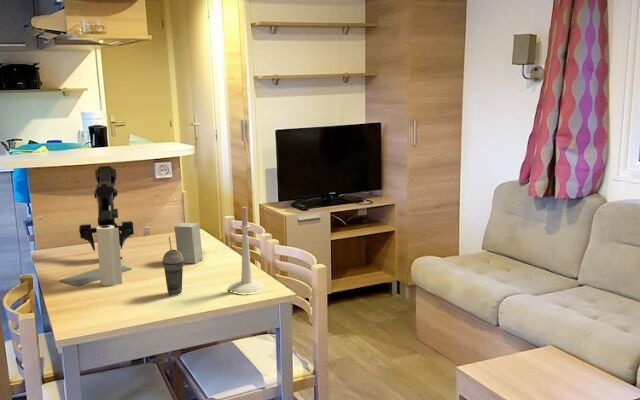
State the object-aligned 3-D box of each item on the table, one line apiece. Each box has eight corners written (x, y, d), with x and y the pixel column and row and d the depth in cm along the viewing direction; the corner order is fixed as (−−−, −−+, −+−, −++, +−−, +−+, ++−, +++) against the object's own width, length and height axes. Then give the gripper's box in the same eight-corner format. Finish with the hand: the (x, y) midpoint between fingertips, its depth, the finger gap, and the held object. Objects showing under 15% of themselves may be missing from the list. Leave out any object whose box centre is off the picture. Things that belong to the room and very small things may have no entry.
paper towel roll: (97, 283, 217) (93, 226, 213) (113, 279, 221) (109, 223, 217) (106, 288, 212) (101, 229, 208) (122, 284, 216) (118, 227, 212)
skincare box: (203, 260, 246) (201, 222, 243) (194, 264, 240) (192, 226, 237) (185, 258, 249) (183, 221, 246) (175, 263, 242) (173, 225, 239)
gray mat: (113, 265, 240) (113, 264, 240) (131, 269, 234) (131, 268, 234) (59, 281, 220) (59, 280, 220) (78, 286, 214) (77, 285, 214)
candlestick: (224, 285, 214) (221, 203, 208) (259, 281, 218) (257, 201, 213) (233, 297, 202) (230, 210, 197) (269, 292, 207) (267, 207, 201)
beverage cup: (174, 298, 201) (171, 241, 197) (159, 294, 205) (156, 238, 201) (190, 292, 207) (187, 236, 203) (175, 288, 211) (172, 234, 207)
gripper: (77, 203, 215) (77, 239, 207) (131, 199, 221) (133, 235, 212) (80, 220, 224) (81, 256, 216) (132, 216, 230) (134, 251, 221)
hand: (107, 249), depth 216 cm, fingers open, 9 cm apart
